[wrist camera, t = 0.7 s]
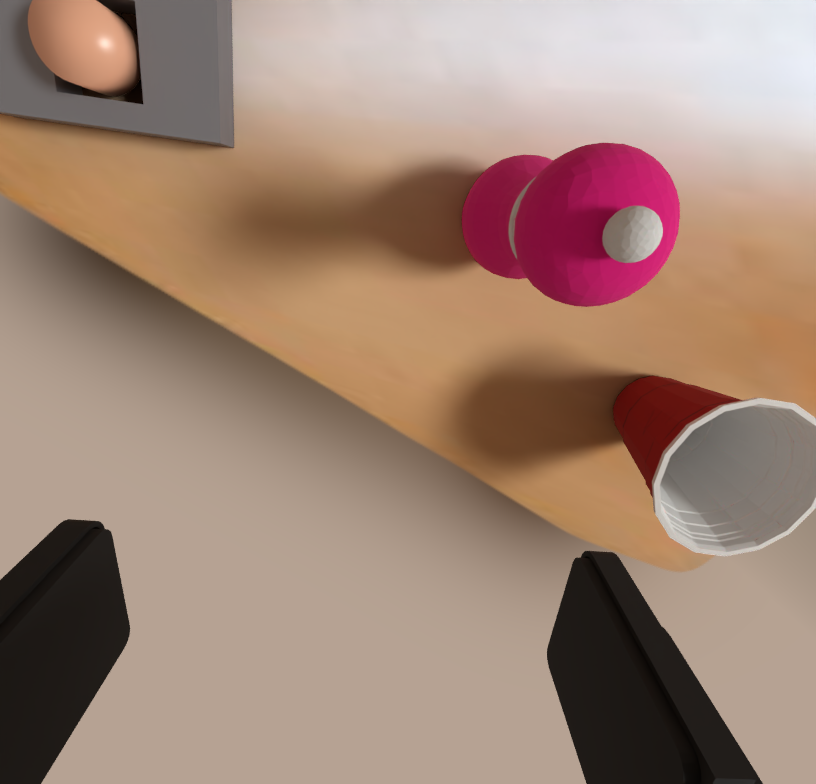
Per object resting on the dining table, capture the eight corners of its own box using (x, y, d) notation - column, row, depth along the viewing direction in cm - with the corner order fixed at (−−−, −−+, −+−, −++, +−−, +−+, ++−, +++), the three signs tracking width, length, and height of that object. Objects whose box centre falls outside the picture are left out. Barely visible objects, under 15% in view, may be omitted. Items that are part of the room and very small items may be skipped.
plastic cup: (725, 340, 36) (868, 400, 25) (696, 457, 41) (808, 553, 29) (590, 345, 36) (674, 407, 25) (575, 461, 40) (642, 559, 29)
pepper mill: (463, 279, 34) (541, 369, 16) (445, 175, 31) (513, 135, 13) (560, 256, 34) (757, 322, 15) (550, 149, 31) (776, 69, 12)
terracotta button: (60, 1, 26) (20, -24, 23) (139, 13, 26) (108, -9, 24) (72, 90, 28) (36, 78, 25) (146, 101, 28) (118, 90, 25)
